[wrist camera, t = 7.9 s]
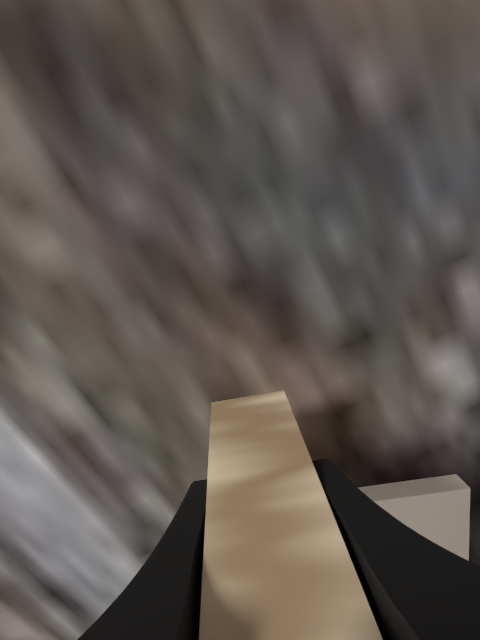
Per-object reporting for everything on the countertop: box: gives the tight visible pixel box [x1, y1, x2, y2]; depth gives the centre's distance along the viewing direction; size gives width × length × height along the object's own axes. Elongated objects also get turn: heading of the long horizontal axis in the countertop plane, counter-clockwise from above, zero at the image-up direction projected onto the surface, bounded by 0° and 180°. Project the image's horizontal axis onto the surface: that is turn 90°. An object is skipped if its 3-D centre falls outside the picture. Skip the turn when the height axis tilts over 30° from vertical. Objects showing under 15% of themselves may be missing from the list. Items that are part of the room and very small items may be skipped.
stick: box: [199, 390, 383, 640], centre depth 11 cm, size 3×3×10 cm
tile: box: [358, 474, 470, 561], centre depth 24 cm, size 8×2×8 cm
